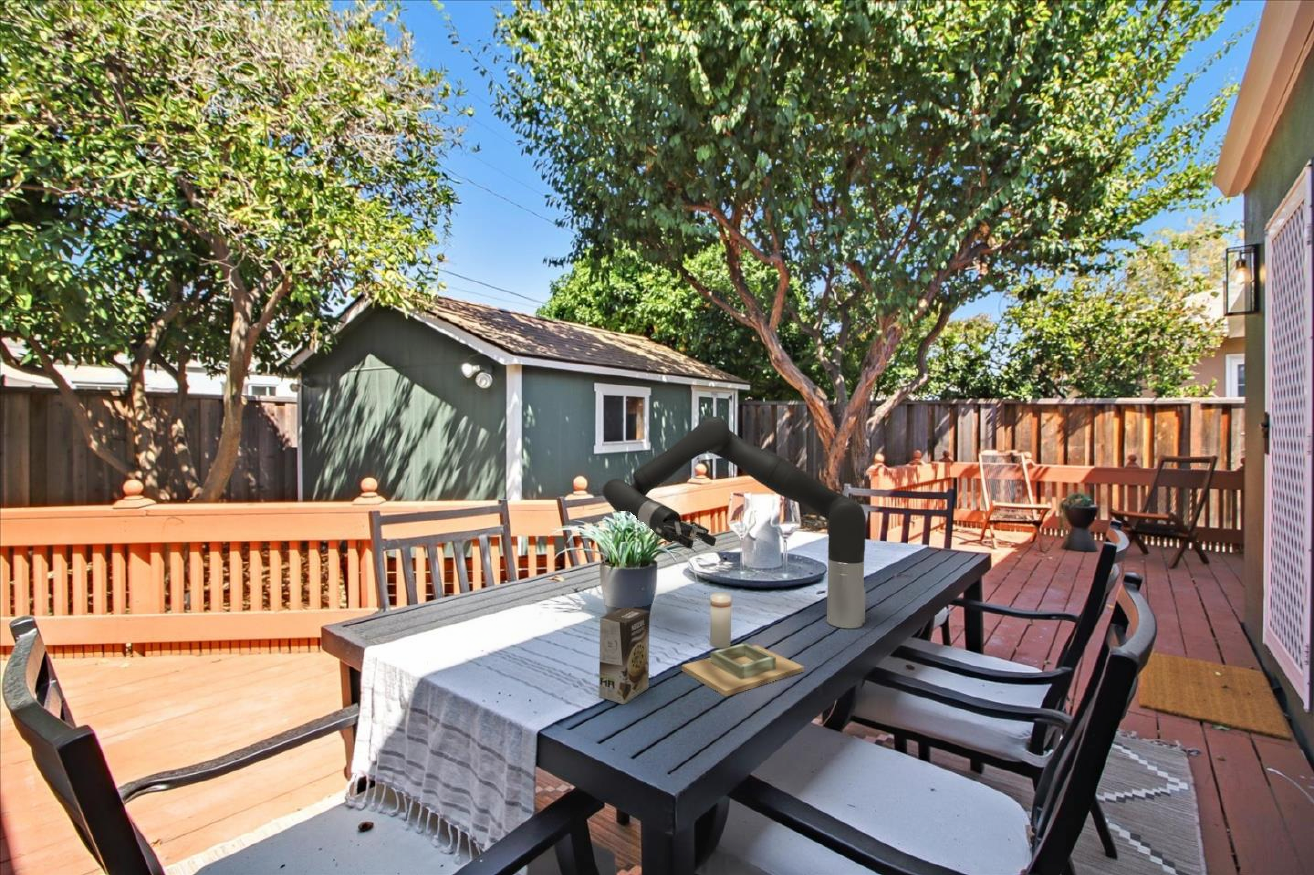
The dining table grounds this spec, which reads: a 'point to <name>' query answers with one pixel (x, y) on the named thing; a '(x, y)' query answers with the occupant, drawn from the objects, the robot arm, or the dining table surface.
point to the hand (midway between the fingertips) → (703, 543)
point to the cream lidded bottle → (720, 620)
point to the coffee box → (624, 654)
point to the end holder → (740, 668)
